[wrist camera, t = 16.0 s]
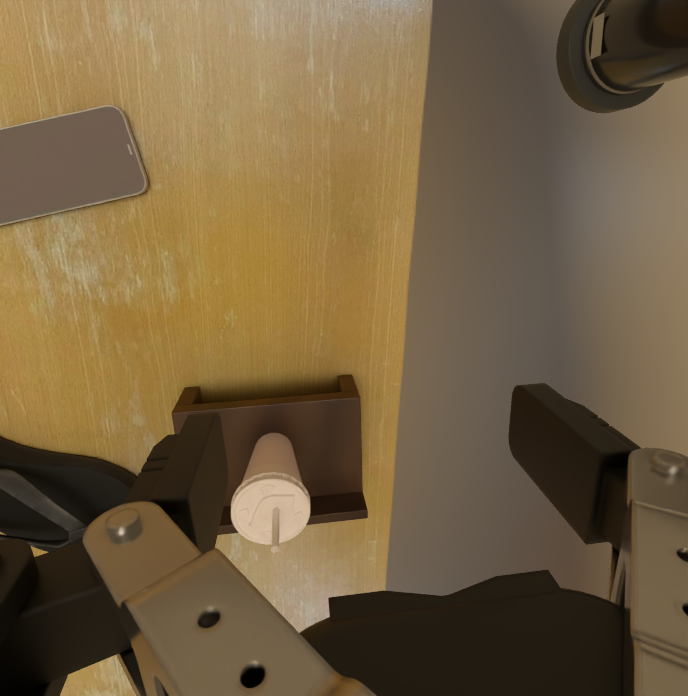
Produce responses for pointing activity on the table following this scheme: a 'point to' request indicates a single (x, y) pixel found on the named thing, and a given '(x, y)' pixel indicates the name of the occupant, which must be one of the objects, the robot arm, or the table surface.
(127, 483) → the sandal
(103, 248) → the table surface
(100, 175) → the smartphone
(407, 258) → the table surface
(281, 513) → the smoothie
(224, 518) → the shelf
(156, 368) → the table surface
